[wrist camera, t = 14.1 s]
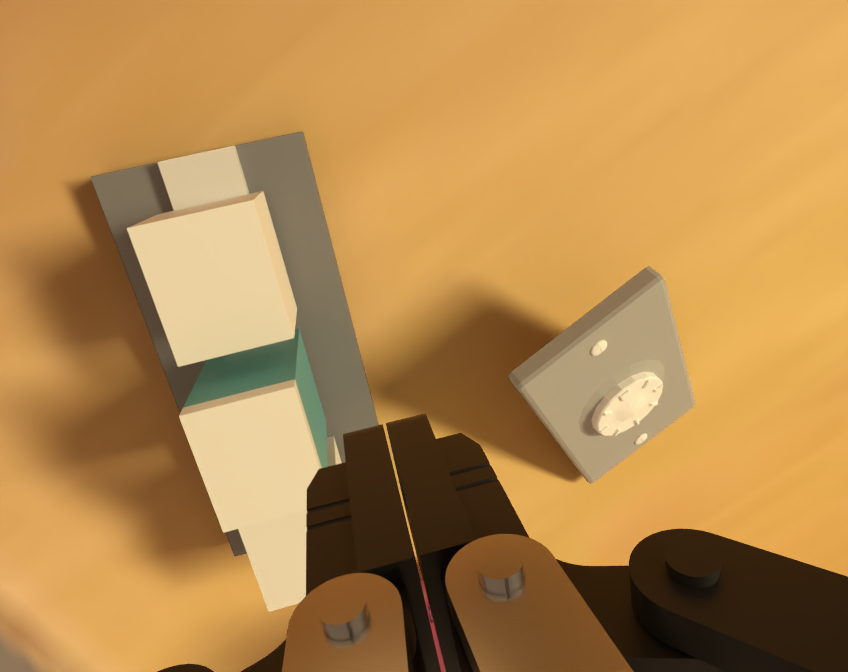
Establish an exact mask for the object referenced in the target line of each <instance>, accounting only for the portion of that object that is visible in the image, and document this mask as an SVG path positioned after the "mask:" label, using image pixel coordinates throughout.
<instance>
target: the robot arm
mask: <svg viewBox="0 0 848 672" xmlns="http://www.w3.org/2000/svg"><path fill="white" fill-rule="evenodd" d="M386 425H387V430H388V435H389V439H390V443H391V448H392V452H393V456H394V461H395V465H396V469H397V474H398V478H399V483H400V487H401V491H402V496H403V500H404V504H405V509H406V513H407V517H408V521H409V525H410V529H411V534H412V538H413V542H414V546H415V550H416V554H417V558H418V562H419V566H420V570H421V574H422V578H423V582H424V586H425V590H426V594H427V598H428V602H429V606H430V610H431V614H432V618H433V622H434V626H435V630H436V634H437V638H438V642H439V646H440V650H441V654H442V658H443V662H444V666H445V670H446V672H848V577H847V576H844V575H841V574H837V573H834V572H831V571H828V570H825V569H822V568H819V567H816V566H812V565H809V564H806V563H803V562H800V561H797V560H794V559H791V558H787V557H784V556H781V555H778V554H775V553H772V552H769V551H765V550H762V549H759V548H756V547H753V546H750V545H747V544H744V543H740V542H737V541H734V540H731V539H728V538H725V537H722V536H719V535H715V534H712V533H708V532H705V531H699V530H693V529H671V530H665V531H661V532H658V533H655V534H652V535H650V536H648V537H646V538H645V539H643V540H642V541H641V542H639V543H638V544H637V546H636V547H635V548H634V549H633V551H632V553H631V555H630V560H629V566H581V565H574V564H570V563H566V562H562V561H560V560H557V559H555V557H554V556H553V555H552V553H551V552H550V551H549V550H548V549H547V548H546V547H545V546H543V545H542V544H541V543H539V542H537V541H535V540H533V539H531V538H529V536H528V534H527V532H526V531H525V529H524V527H523V525H522V523H521V521H520V519H519V517H518V516H517V514H516V512H515V510H514V508H513V506H512V504H511V502H510V500H509V499H508V497H507V495H506V493H505V491H504V489H503V487H502V485H501V484H500V482H499V480H498V479H497V476H496V474H495V472H494V470H493V468H492V467H491V466H490V464H489V461H488V459H487V457H486V455H485V453H484V452H483V450H482V448H481V446H480V445H479V444H478V443H476V442H475V441H473V440H471V439H470V438H468V437H466V436H465V435H463V434H462V433H459V434H455V435H451V436H447V437H443V438H439V439H436V438H435V436H434V434H433V431H432V429H431V426H430V424H429V421H428V419H427V416H426V414H421V415H417V416H413V417H409V418H405V419H401V420H397V421H393V422H389V423H386ZM343 442H344V452H345V461H346V462H344V463H340V464H337V465H333V466H329V467H325V468H321V469H319V470H318V471H317V473H316V475H315V476H314V478H313V480H312V481H311V483H310V485H309V486H308V488H307V514H306V527H307V531H306V597H304V599H303V600H302V601H301V602H300V603H299V604H298V606H297V607H296V609H295V610H294V612H293V614H292V616H291V619H290V621H289V625H288V630H287V638H286V640H285V641H284V642H283V643H282V644H281V645H280V646H279V647H278V648H277V649H275V650H274V651H273V652H272V653H270V654H269V655H268V656H266V657H265V658H263V659H261V660H260V661H258V662H257V663H255V664H253V665H251V666H250V667H248V668H246V669H244V670H243V671H241V672H441V669H440V664H439V660H438V656H437V651H436V647H435V643H434V638H433V634H432V630H431V625H430V621H429V616H428V612H427V608H426V603H425V599H424V595H423V590H422V586H421V582H420V577H419V573H418V569H417V564H416V560H415V556H414V552H413V547H412V543H411V539H410V535H409V531H408V527H407V523H406V519H405V515H404V510H403V506H402V502H401V498H400V494H399V490H398V486H397V482H396V478H395V473H394V469H393V465H392V461H391V457H390V453H389V449H388V445H387V441H386V436H385V432H384V428H383V424H381V425H377V426H373V427H369V428H365V429H361V430H357V431H353V432H349V433H345V434H343ZM158 672H214V671H212V670H211V669H209V668H207V667H205V666H201V665H196V664H183V665H177V666H172V667H169V668H166V669H163V670H160V671H158Z"/></svg>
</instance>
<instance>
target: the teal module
mask: <svg viewBox="0 0 848 672" xmlns="http://www.w3.org/2000/svg"><path fill="white" fill-rule="evenodd" d="M179 418H180V421H181V423H182V426H183V429H184V431H185V434H186V436H187V439H188V442H189V444H190V447H191V450H192V452H193V455H194V457H195V460H196V463H197V465H198V468H199V471H200V473H201V476H202V478H203V481H204V484H205V486H206V489H207V492H208V494H209V497H210V499H211V502H212V505H213V507H214V510H215V513H216V515H217V518H218V520H219V523H220V526H221V528H222V531H223V533H225V532H228V531H232V530H235V529H239V528H243V527H246V526H250V525H253V524H257V523H261V522H264V521H268V520H271V519H275V518H279V517H282V516H286V515H289V514H293V513H297V512H300V511H304V510H307V488H308V486H309V485H310V483H311V481H312V480H313V478H314V476H315V475H316V473H317V471H318V470H319V469H321V468H325V467H328V452H327V430H326V419H325V416H324V412H323V409H322V405H321V402H320V398H319V395H318V391H317V388H316V385H315V381H314V378H313V374H312V371H311V367H310V364H309V360H308V357H307V353H306V350H305V347H304V343H303V340H302V336H301V333H300V329H299V328H297V329H295V335H294V338H293V339H289V340H285V341H281V342H277V343H273V344H268V345H264V346H260V347H256V348H252V349H248V350H244V351H240V352H236V353H232V354H228V355H224V356H220V357H216V358H212V359H208V360H206V362H205V365H204V367H203V369H202V371H201V373H200V375H199V377H198V379H197V381H196V383H195V385H194V387H193V389H192V391H191V393H190V395H189V397H188V399H187V401H186V403H185V405H184V407H183V409H182V411H181V413H180V415H179Z"/></svg>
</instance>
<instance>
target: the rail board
mask: <svg viewBox="0 0 848 672" xmlns="http://www.w3.org/2000/svg"><path fill="white" fill-rule="evenodd" d="M91 180H92V183H93V185H94V188H95V190H96V193H97V196H98V198H99V201H100V204H101V206H102V209H103V212H104V214H105V217H106V219H107V222H108V225H109V227H110V230H111V233H112V235H113V238H114V240H115V243H116V246H117V248H118V251H119V254H120V256H121V259H122V261H123V264H124V267H125V269H126V272H127V275H128V277H129V280H130V283H131V285H132V288H133V290H134V293H135V296H136V298H137V301H138V304H139V306H140V309H141V311H142V314H143V317H144V319H145V322H146V325H147V327H148V330H149V332H150V335H151V338H152V340H153V343H154V346H155V348H156V351H157V354H158V356H159V359H160V361H161V364H162V367H163V369H164V372H165V375H166V377H167V380H168V382H169V385H170V388H171V390H172V393H173V396H174V398H175V401H176V403H177V406H178V409H179V411H180V413H181V411H182V409H183V407H184V405H185V403H186V401H187V399H188V397H189V395H190V393H191V391H192V389H193V387H194V385H195V383H196V381H197V379H198V377H199V375H200V373H201V371H202V369H203V367H204V365H205V362H206V360H208V359H212V358H216V357H220V356H224V355H228V354H232V353H236V352H240V351H244V350H248V349H252V348H256V347H260V346H264V345H268V344H273V343H277V342H281V341H285V340H289V339H293V338H294V335H295V329H297V328H299V329H300V333H301V336H302V340H303V343H304V347H305V350H306V353H307V357H308V360H309V364H310V367H311V371H312V374H313V378H314V381H315V385H316V388H317V391H318V395H319V398H320V402H321V405H322V409H323V412H324V416H325V419H326V430H327V452H328V467H329V466H333V465H337V464H340V463H344V462H346V461H345V452H344V442H343V434H345V433H349V432H353V431H357V430H361V429H365V428H369V427H373V426H377V425H378V421H377V417H376V413H375V409H374V405H373V401H372V398H371V394H370V390H369V386H368V382H367V378H366V374H365V370H364V367H363V363H362V359H361V355H360V351H359V347H358V343H357V339H356V335H355V332H354V328H353V324H352V320H351V316H350V312H349V308H348V304H347V301H346V297H345V293H344V289H343V285H342V281H341V277H340V273H339V270H338V266H337V262H336V258H335V254H334V250H333V246H332V242H331V239H330V235H329V231H328V227H327V223H326V219H325V215H324V211H323V208H322V204H321V200H320V196H319V192H318V188H317V184H316V180H315V177H314V173H313V169H312V165H311V161H310V157H309V153H308V149H307V145H306V142H305V138H304V134H303V131H302V132H297V133H292V134H288V135H283V136H278V137H274V138H269V139H264V140H260V141H255V142H250V143H246V144H241V145H236V146H230V147H225V148H221V149H216V150H211V151H207V152H202V153H197V154H193V155H188V156H183V157H179V158H174V159H169V160H165V161H160V162H157V163H152V164H148V165H143V166H138V167H134V168H129V169H124V170H120V171H115V172H110V173H106V174H101V175H96V176H92V177H91ZM306 514H307V510H304V511H300V512H297V513H293V514H289V515H286V516H282V517H279V518H275V519H271V520H268V521H264V522H261V523H257V524H253V525H250V526H246V527H243V528H239V529H235V530H232V531H228V532H226V535H227V538H228V540H229V543H230V545H231V548H232V551H233V553H234V556H238V555H242V554H245V553H247V554H248V557H249V560H250V562H251V565H252V568H253V570H254V573H255V576H256V579H257V581H258V584H259V587H260V589H261V592H262V595H263V597H264V600H265V603H266V606H267V608H268V611H269V612H270V611H274V610H277V609H281V608H284V607H287V606H291V605H294V604H298V603H300V602H301V601H302V600H303V599H304V597H306V531H307V527H306Z"/></svg>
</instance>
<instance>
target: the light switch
mask: <svg viewBox="0 0 848 672" xmlns="http://www.w3.org/2000/svg"><path fill="white" fill-rule="evenodd" d="M509 379H510V381H511V382H512V383H513V385H514V386H515V387H516V389H517V390H518V391H519V392H520V394H521V395H522V396H523V398H524V399H525V400H526V402H527V403H528V404H529V406H530V407H531V408H532V410H533V411H534V412H535V414H536V415H537V416H538V418H539V419H540V420H541V422H542V423H543V424H544V426H545V427H546V428H547V430H548V431H549V432H550V433H551V435H552V436H553V437H554V439H555V440H556V441H557V443H558V444H559V445H560V447H561V448H562V449H563V451H564V452H565V453H566V455H567V456H568V457H569V459H570V460H571V461H572V463H573V464H574V465H575V467H576V468H577V469H578V470H579V472H580V473H581V474H582V476H583V477H584V478H585V479H586V481H587V482H589V483H594V482H595V481H596V480H598V479H599V478H600V477H602V476H603V475H604V474H606V473H607V472H608V471H610V470H611V469H612V468H614V467H615V466H616V465H618V464H619V463H620V462H622V461H623V460H624V459H626V458H627V457H628V456H629V455H631V454H632V453H633V452H635V451H636V450H637V449H639V448H640V447H641V446H643V445H644V444H645V443H647V442H648V441H649V440H651V439H652V438H653V437H655V436H656V435H657V434H659V433H660V432H661V431H663V430H664V429H665V428H666V427H668V426H669V425H670V424H672V423H673V422H674V421H676V420H677V419H678V418H680V417H681V416H682V415H684V414H685V413H686V412H688V411H689V410H690V409H692V408H693V407H694V405H695V400H694V396H693V392H692V388H691V384H690V380H689V376H688V372H687V368H686V364H685V360H684V356H683V352H682V348H681V344H680V340H679V336H678V332H677V328H676V324H675V320H674V316H673V312H672V308H671V304H670V300H669V296H668V292H667V288H666V284H665V280H664V278H663V276H661V275H660V274H659V273H658V272H656V271H655V270H654V269H652V268H651V267H650V266H648V267H646V268H644V269H643V270H642V271H641V272H639V273H638V274H637V275H635V276H634V277H633V278H632V279H630V280H629V281H628V282H626V283H625V284H624V285H622V286H621V287H620V288H619V289H617V290H616V291H615V292H613V293H612V294H611V295H610V296H608V297H607V298H606V299H604V300H603V301H602V302H601V303H599V304H598V305H597V306H595V307H594V308H593V309H592V310H590V311H589V312H588V313H586V314H585V315H584V316H583V317H581V318H580V319H579V320H577V321H576V322H575V323H574V324H572V325H571V326H570V327H568V328H567V329H566V330H564V331H563V332H562V333H561V334H559V335H558V336H557V337H555V338H554V339H553V340H552V341H550V342H549V343H548V344H546V345H545V346H544V347H543V348H541V349H540V350H539V351H537V352H536V353H535V354H534V355H532V356H531V357H530V358H528V359H527V360H526V361H525V362H523V363H522V364H521V365H519V366H518V367H517V368H516V369H514V370H513V371H512V372H511V373H510V374H509Z"/></svg>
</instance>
